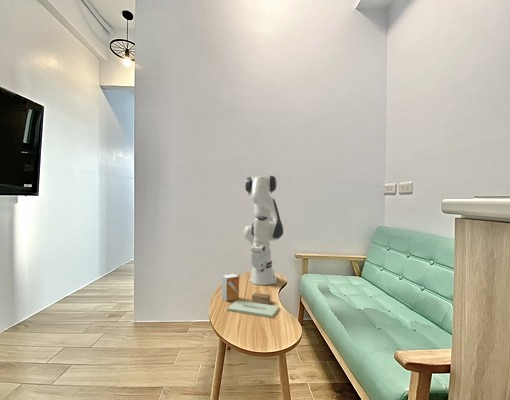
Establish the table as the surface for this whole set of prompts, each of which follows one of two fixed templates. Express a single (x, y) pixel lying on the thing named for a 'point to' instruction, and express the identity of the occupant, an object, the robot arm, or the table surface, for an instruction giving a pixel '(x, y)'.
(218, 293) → the table surface
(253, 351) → the table surface
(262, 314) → the board
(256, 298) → the block
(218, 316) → the table surface
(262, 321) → the table surface
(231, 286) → the small box
